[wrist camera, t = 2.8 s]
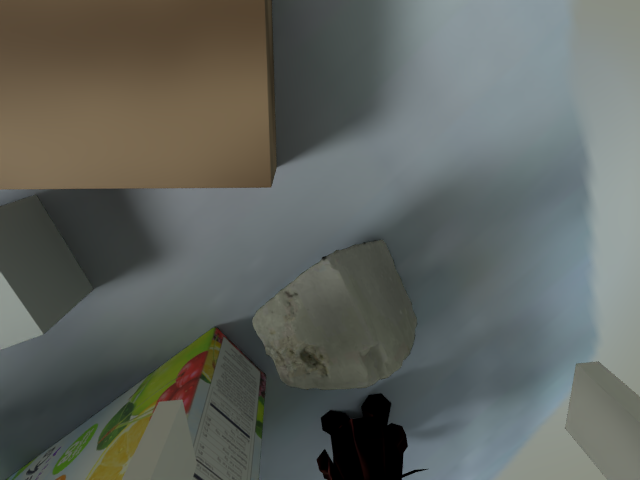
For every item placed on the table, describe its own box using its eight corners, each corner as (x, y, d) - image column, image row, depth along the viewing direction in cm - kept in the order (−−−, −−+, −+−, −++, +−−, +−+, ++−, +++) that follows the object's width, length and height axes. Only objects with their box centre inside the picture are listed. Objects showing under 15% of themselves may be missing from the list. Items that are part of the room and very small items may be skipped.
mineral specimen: (353, 189, 22) (384, 231, 14) (422, 303, 25) (479, 389, 17) (245, 257, 23) (222, 329, 15) (323, 360, 25) (335, 466, 18)
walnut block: (276, 166, 22) (271, 187, 16) (70, 167, 21) (-13, 189, 15) (269, -72, 18) (259, -155, 12) (21, -81, 17) (-110, -173, 12)
